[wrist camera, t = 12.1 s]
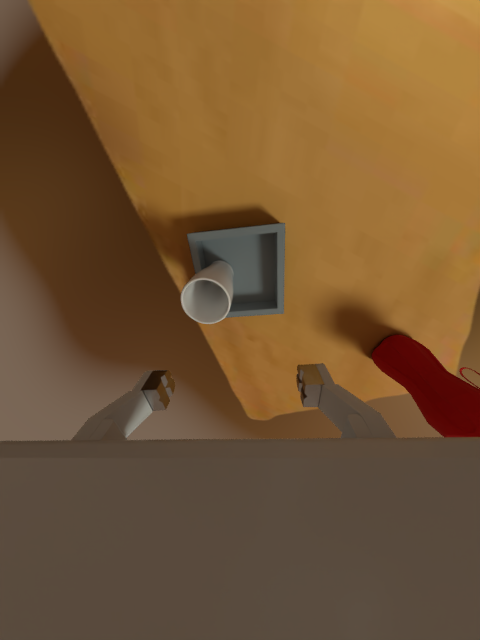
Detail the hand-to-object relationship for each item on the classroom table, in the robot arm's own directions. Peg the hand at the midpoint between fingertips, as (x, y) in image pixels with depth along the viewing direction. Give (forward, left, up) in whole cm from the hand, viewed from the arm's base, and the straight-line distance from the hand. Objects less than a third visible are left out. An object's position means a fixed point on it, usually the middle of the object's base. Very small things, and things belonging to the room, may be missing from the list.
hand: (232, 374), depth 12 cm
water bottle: (+22, +35, -29) cm, 51 cm away
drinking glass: (0, -5, -28) cm, 29 cm away
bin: (0, -1, -29) cm, 29 cm away
